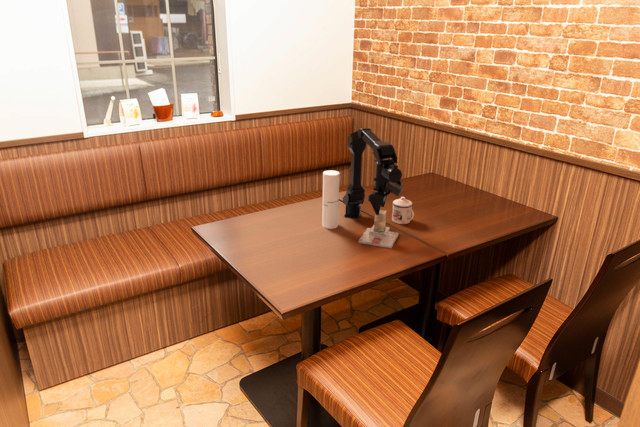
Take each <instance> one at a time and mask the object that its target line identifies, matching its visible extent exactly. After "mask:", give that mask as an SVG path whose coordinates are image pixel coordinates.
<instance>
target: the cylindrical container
mask: <svg viewBox="0 0 640 427" xmlns="http://www.w3.org/2000/svg"><path fill="white" fill-rule="evenodd" d="M340 175H341V174H340V172H339V171H337V170H335V169H334V170H331V169H330V170H329V169H328V170H324V171H323V172H322V209H321V210H322V211H321V212H322V213H321V215H322V216H321V217H322V218H321V219H322V220H321V225H322V227H323V228H324V229H328V230H329V229H330V230H332V229H336V228H338V226H339V204H340V202H339V201H340V198H339V196H340Z"/></svg>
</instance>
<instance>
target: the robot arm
mask: <svg viewBox="0 0 640 427" xmlns="http://www.w3.org/2000/svg"><path fill="white" fill-rule="evenodd" d="M346 142H347V147H348V150H349V151H350V179H349V180H350V183H349V184H348V186H347V187H346V192H345V195H343V197H342V203H343V204H344V205H345V214H344V217H345V218H351V219H358V218H359V217H360V216H361V214H362V206H361V205H363V204H364V201H365V198H366V194H365V192H366V190H365V188H364V187H363V186H362V165H363V154H364V151H365V150H366V148H367V145H368V147H370V148H371V150H372V154H373V156H374V158H375V159H374V160H373V161H374V162H375V174H374V176H375V177H373V181H374V187H373V188H372V190H373V191H372V192H371V193H370V194H369V195H368V198H367V200H368V202H370V204H371V206H372V208H373V211H374V214H375V213H376V215H379V212H380V210H381V208H384V207H385V205H386V203H387V202H386V201H387V198H388V196H389V195H390V194H393V195H394V196H398V197H399V196H400V194H401V193H402V191H403V188H404V185H403V181H402V180H401V179H402V177H403V173H402V170H401V169H399V165H397V164H398V155H397V153H396V150H395V147H394V145H393V144H392V143H390V142H388V141H383V140H381V138H379V137H378V136H377V135H376V134H375V133H374V132H373V130H372V129H371V128H369V127H364V128H363V127H362V128H359V129H358V130H356V131H354V132H352V133H350V134H349V135H348V136H347V139H346Z"/></svg>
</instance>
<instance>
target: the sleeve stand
mask: <svg viewBox="0 0 640 427" xmlns="http://www.w3.org/2000/svg"><path fill="white" fill-rule="evenodd" d="M398 237H399V232H396V231H391V230H390V226H386V228H385V230H384V231H383V232H381V231H375V230H374V224H373V225H372V226H371V227H367V228H366V229H365V231H364V232H363V234H362V235H361V236H360V237H359V239H358V243H359V244H363V245H370V246H373V247H374V246H375V247H378V248H379V247H380V248H386V249H392V248H393V246H394V244H395V242H396V240H397V239H398Z"/></svg>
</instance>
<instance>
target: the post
mask: <svg viewBox="0 0 640 427" xmlns="http://www.w3.org/2000/svg"><path fill="white" fill-rule="evenodd" d="M387 213H388V212H387V210H383V209H380V212H379V215H376V213H375V212H374V218H373V220H374V222H373V223H374V224H373V225H374V230H375V231H381V232H383V231H384V230H385V228H386V227H387V226H386V223H387Z"/></svg>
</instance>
